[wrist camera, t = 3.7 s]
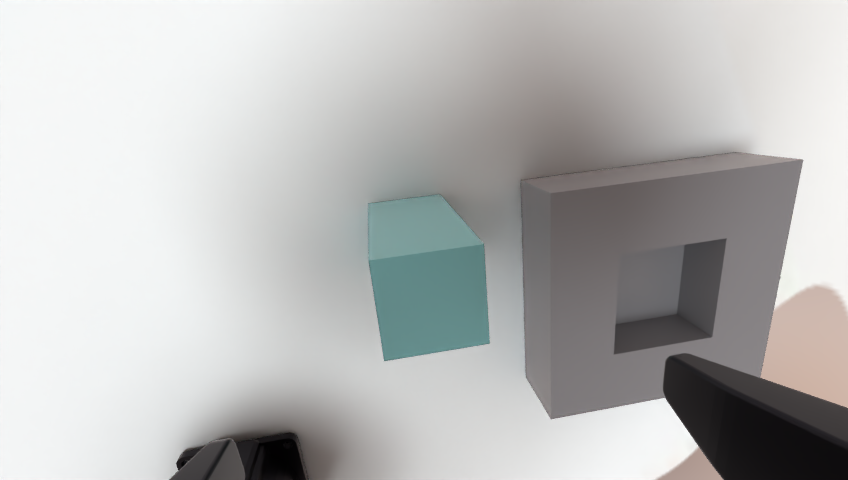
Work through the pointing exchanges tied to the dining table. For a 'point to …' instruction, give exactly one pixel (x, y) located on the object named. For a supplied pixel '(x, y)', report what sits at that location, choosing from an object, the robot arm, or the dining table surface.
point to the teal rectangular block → (426, 277)
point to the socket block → (650, 273)
